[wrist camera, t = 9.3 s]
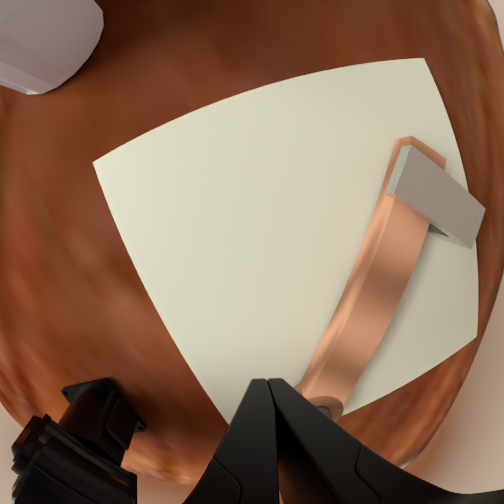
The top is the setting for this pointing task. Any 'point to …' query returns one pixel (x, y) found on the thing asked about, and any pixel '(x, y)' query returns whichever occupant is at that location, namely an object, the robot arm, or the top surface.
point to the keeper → (435, 198)
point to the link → (367, 295)
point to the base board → (288, 227)
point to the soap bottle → (46, 41)
